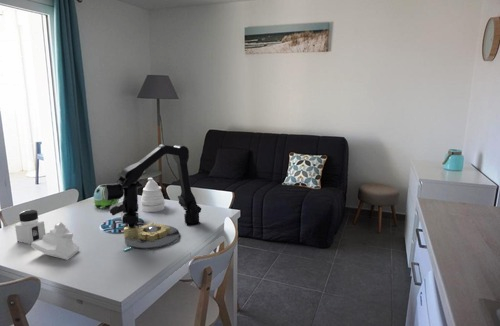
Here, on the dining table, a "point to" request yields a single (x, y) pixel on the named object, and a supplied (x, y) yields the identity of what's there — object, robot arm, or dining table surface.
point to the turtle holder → (102, 198)
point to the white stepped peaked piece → (57, 243)
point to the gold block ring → (143, 234)
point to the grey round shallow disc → (148, 244)
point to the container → (29, 227)
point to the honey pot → (152, 197)
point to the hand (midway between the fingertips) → (131, 230)
